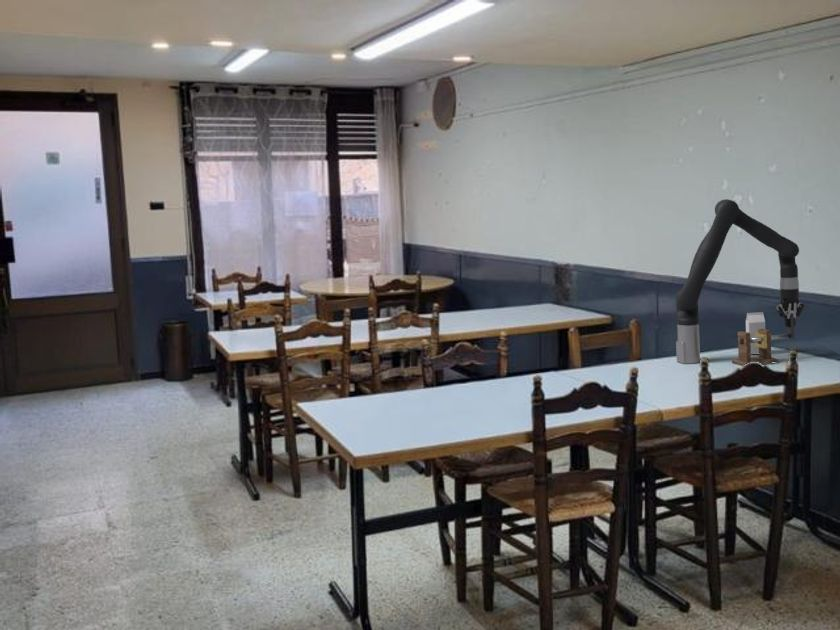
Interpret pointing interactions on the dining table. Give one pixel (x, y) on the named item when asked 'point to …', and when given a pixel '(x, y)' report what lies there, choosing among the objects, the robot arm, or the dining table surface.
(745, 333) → the stand
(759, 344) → the spacer
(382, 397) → the dining table surface
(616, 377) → the dining table surface
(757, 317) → the milk carton
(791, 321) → the grey l-shaped piece
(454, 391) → the dining table surface
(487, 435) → the dining table surface
